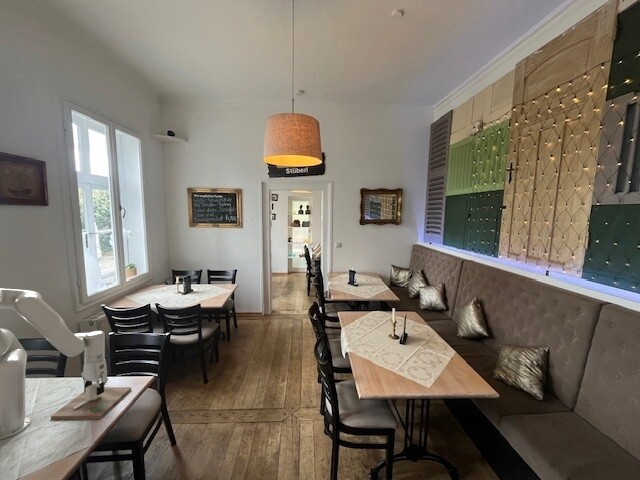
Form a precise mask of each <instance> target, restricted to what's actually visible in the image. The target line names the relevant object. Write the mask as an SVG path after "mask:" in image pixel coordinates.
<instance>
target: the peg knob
mask: <svg viewBox="0 0 640 480" xmlns="http://www.w3.org/2000/svg"><path fill="white" fill-rule="evenodd" d="M99 383H101V381H99ZM97 387H98V386H97V384H96V382H93V383H92V385H90V386H88V387H86V400H87V401H85V402H83V403H81V404H79V405H77V406H75V407H74V409H76V408H78V407H80V406H81V405H83V404H85V403H87V402H89V401H93V400H96V399H98V396H99V395H98V396H97ZM100 395H101V394H100Z"/></svg>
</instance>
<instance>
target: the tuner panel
mask: <svg viewBox="0 0 640 480" xmlns="http://www.w3.org/2000/svg"><path fill="white" fill-rule="evenodd" d="M131 391H132V387H131V386H130V387H129V386H128V387H127V386H124V387H122V386H121V387H120V386H119V387H117V386H116V387H115V386H112V387H110V386H104V393H102V394H101V395H99V396H98V399H96V400H93V401H89V402H87V403H85V404H83V405H81V406H80V407H78V408H76V409H74V407H75V406H77V405H79V404H81V403H83V402H85V401H87V400H86V392H84V391H83V392H81V393H80V394H79V395H77V396H75V397H74V398H73V399H72V400H70V401H69V402H68V403H66V404H65V405H64V406H62V407H61V408H60V409H58V410H57V411H55V412H54V413H52V415H50V419H51V420H101V419H102V418H103V417H104V416H105V415H106V414H107V413H108V412H110V410H113V408H114V407H115V406H116V405H117V404H118V403H119V402H120V401H121V400H122V399H124V397H126V396H127V395H128V394H129V393H130V392H131Z"/></svg>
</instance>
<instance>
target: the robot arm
mask: <svg viewBox="0 0 640 480" xmlns="http://www.w3.org/2000/svg"><path fill="white" fill-rule="evenodd" d="M0 309H4V310H5V309H10V310H13V311H14V312H16V314H17V315H19V316H20V317H21V318H23V320H25V321H26V322H27V323H28V324H30V325H31V326H32V327H33V328H35V329H36V330H37V331H38V332H39V333H40V334H41V336H43V338H45V339H46V340H47V341H48V342H49V343H50V344H51V345H52V346H53V347H54V348H55V349H56V350H58V351H59V352H60V353H61V354H63V355H64V356H67V357H69V358H70V357H71V358H73V357H76V356H79V355H80V354H82V353H83V352H84V362H83V369H82V370H83V371H82V372H81V374H80V375H81V377H82V381H83V386H84V387H83V392H86V387H88V386H90V385H92V384H93V383H96V384H97V386H98V387H97V396H98V395H100V394H102V393H104V387H105V385H106V384H107V382H108V380H109V379H108V371H107V361H106V359H105V341H106V340H105V338H106V336H105V334H106V333H105V332H104V331H103V330H93V331H90V332H78V333H73V332H72V330H70V328H68V326H67V325H66V322H65V321H64V319H63V317H62V316H61V315H60V314H59V313H58V312H56V311H55V310H54V309H53V308H52V307H51V306H50V305H49V304H48V303H46V302H45V301H44V300H43V296H42V295H41V294H40V293H39V292H38V291H35V290H26V289H11V288H0ZM27 360H28V353H27V351H26V349H24V347H23V346H22V344H21V343H20V341H19V339H18V338H17V337H16V336H15V334H14V333H13V332H12V331H11V330H9V329H7V328H0V441H2V440H4V439H8V438H10V437H11V438H12V437H14V436H15V435H17V434H20V433H21V432H22V431H24V430H25V429H27V428H28V427H29V426H30V425H31V418H30V417H28V416H26V367H27V366H26V365H27ZM99 381H101V383H99Z"/></svg>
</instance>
